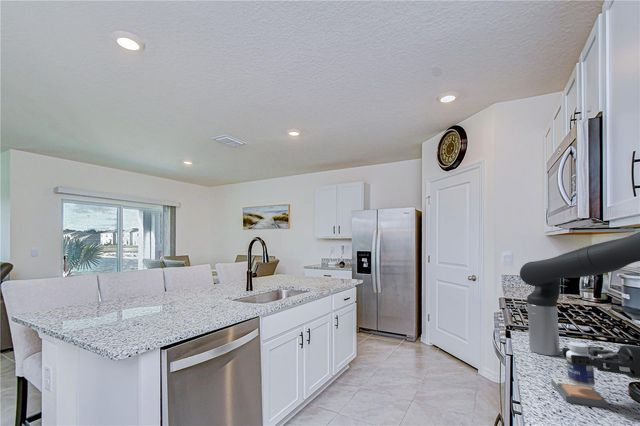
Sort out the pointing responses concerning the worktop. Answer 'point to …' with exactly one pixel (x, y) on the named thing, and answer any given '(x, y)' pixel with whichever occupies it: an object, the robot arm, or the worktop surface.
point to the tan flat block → (578, 393)
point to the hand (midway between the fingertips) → (567, 355)
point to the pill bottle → (579, 366)
